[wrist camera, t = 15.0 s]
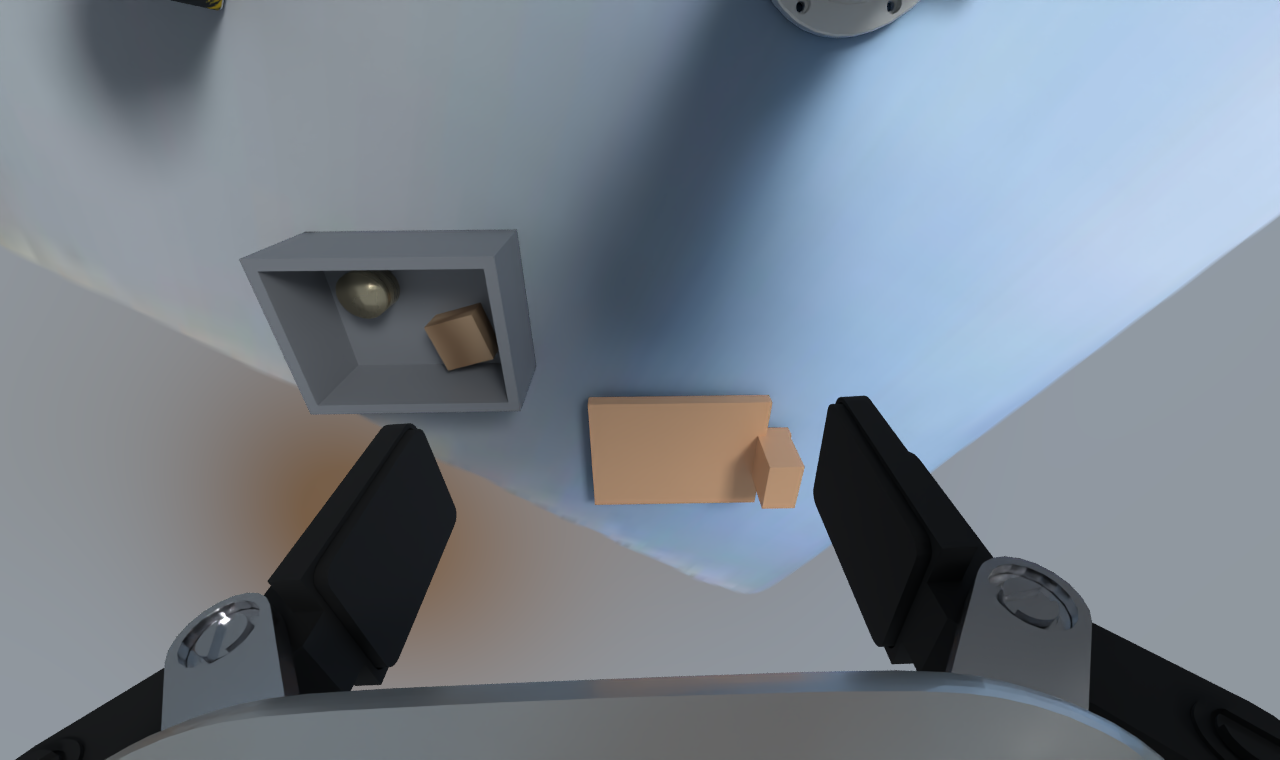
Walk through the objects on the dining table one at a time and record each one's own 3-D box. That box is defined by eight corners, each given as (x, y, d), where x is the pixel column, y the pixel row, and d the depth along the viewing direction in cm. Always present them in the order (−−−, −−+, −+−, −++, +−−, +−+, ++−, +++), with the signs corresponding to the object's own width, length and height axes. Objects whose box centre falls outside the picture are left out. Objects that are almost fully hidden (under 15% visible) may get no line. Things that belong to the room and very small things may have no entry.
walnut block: (480, 302, 37) (471, 314, 35) (500, 344, 39) (493, 358, 37) (435, 315, 38) (423, 327, 36) (458, 356, 40) (448, 370, 38)
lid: (790, 387, 44) (815, 432, 38) (771, 485, 50) (789, 535, 44) (589, 390, 43) (583, 435, 38) (596, 488, 50) (592, 539, 44)
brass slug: (392, 262, 36) (377, 272, 34) (405, 305, 37) (392, 317, 35) (345, 263, 36) (327, 273, 34) (361, 307, 37) (345, 319, 35)
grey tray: (516, 229, 35) (493, 256, 29) (536, 366, 42) (520, 411, 36) (305, 231, 35) (239, 259, 29) (356, 368, 41) (310, 414, 35)
